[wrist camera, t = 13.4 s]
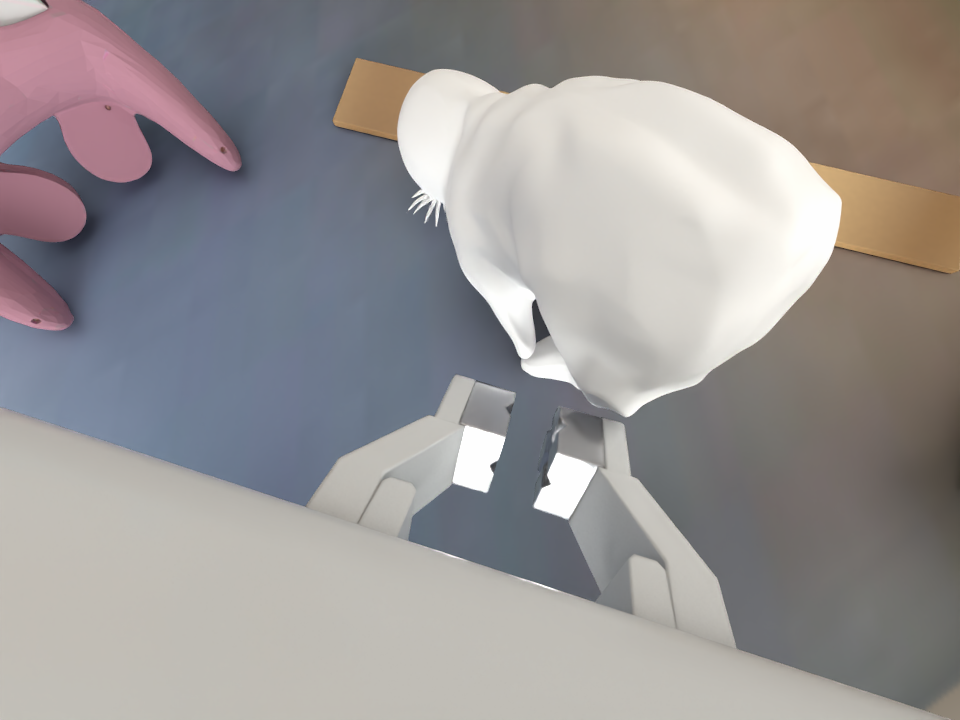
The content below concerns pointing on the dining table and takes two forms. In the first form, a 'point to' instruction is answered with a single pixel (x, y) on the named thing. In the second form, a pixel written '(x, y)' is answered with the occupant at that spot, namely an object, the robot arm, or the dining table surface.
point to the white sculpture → (618, 223)
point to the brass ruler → (865, 199)
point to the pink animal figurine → (79, 130)
